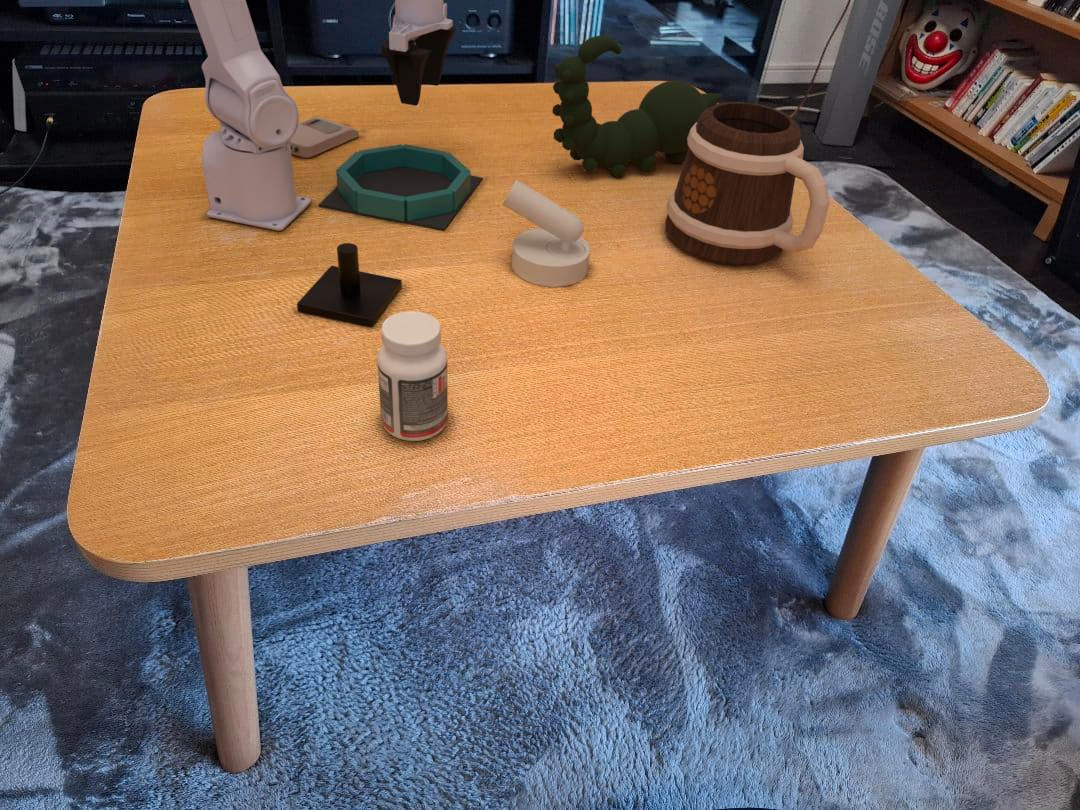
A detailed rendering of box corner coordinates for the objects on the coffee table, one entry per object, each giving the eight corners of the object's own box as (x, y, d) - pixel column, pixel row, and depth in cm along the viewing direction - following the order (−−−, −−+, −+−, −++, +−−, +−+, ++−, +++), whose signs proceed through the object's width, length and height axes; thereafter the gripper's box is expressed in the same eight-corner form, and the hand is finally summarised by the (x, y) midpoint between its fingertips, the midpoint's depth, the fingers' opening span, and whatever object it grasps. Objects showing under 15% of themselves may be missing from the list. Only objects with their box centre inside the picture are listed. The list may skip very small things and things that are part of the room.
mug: (636, 228, 105) (655, 107, 96) (718, 199, 113) (743, 85, 104) (762, 303, 94) (798, 174, 85) (843, 265, 102) (885, 143, 92)
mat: (318, 206, 104) (318, 204, 104) (368, 158, 115) (368, 156, 115) (444, 230, 101) (444, 228, 101) (482, 179, 113) (482, 177, 113)
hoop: (320, 205, 103) (318, 185, 102) (371, 156, 115) (370, 137, 114) (442, 228, 101) (442, 208, 100) (481, 176, 113) (482, 157, 111)
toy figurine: (572, 201, 114) (733, 165, 121) (575, 55, 101) (754, 25, 108) (543, 171, 120) (698, 139, 127) (542, 31, 107) (714, 3, 115)
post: (297, 311, 86) (290, 259, 83) (331, 273, 92) (327, 222, 89) (372, 327, 85) (369, 275, 81) (402, 287, 91) (400, 236, 87)
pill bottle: (457, 411, 76) (459, 317, 70) (431, 451, 72) (429, 355, 66) (399, 394, 77) (395, 301, 71) (369, 432, 73) (362, 337, 67)
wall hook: (513, 163, 95) (602, 177, 94) (509, 240, 101) (593, 254, 100) (494, 196, 88) (590, 211, 87) (491, 277, 94) (581, 292, 93)
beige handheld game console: (368, 133, 122) (367, 112, 120) (286, 168, 111) (284, 146, 109) (332, 121, 124) (331, 100, 122) (250, 154, 114) (246, 132, 112)
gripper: (429, -3, 95) (430, 118, 103) (470, -32, 106) (468, 80, 114) (369, -12, 96) (375, 108, 104) (416, -39, 107) (418, 72, 115)
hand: (420, 93), depth 109 cm, fingers open, 7 cm apart
